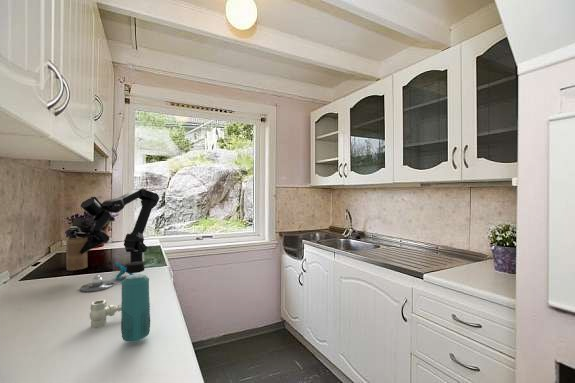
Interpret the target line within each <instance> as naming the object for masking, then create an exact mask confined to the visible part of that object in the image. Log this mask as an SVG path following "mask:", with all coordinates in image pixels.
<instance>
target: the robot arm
mask: <svg viewBox="0 0 575 383" xmlns="http://www.w3.org/2000/svg"><path fill="white" fill-rule="evenodd" d="M137 199H140V204H141V209H140V211H139V214H138V217H137V219H136V222H135V224H134V227H133V230H132V231H131V232H130V233H126V235H125V238H124V240H123V246H124V248H125V252H126V253H129V255H130V257H129V262H127V264H128V263H131V262H144V264H146V261H144V260H143V259H144V258H143V255H144V254H143V253H146V252H147V250H148V247H147V245H146V244H145V243H144V241H145V238H144V233H145V230H146V226H147V224H148V220H149V218H150V215H151V212H152V210H153V209H154V208H155V207H156V206H157V205H158V202H159V201H160V196H159V194H158V193H156V192H152V191H150V190H148V189H145V188H143V187H139V188H138V187H137V188H135V189H133V190H131V191H129V192H127V193H125V194H123V195H121V196H119V197H117V198H112V199H107V200H104V201H103V202H100V200H99V199H98V198H97V196H91V197H90V198H87V199H85V200H84V201H82V202H81V204H80V207H81V209H83V210H84V211H85V212H86V213H87V214H88V216H90V217H86V218H78V217H77V218H76V217H74V220H73V222H72V224H71V227H79V228H80V229H79V231H78V230H77V229H69V228H68V229H67V230H66V231H65V232H64V234H65V235H67V236H68V238H69V237H70V239H71V238H87V242H86V243H85V245H84V246H83V248H82V249H81V251H80V253H81V254H83V253H85V252H86V251H87V252H89V251H90V250H92V249H94V248H95V247H98V246H99V245H102V244H108V242H109V241H110V235H108V233H106V232H105V231H106V227H105V226H106V225H107V223H109V222H115V215H113V213H114V214H118V213H119V212H121V211H122V210H123V209H124V208H125V207H126V206H127V205H128V204H130V203H132V202H134V201H135V200H137ZM92 217H93V218H92Z"/></svg>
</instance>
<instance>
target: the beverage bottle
mask: <svg viewBox="0 0 575 383" xmlns="http://www.w3.org/2000/svg"><path fill="white" fill-rule="evenodd" d="M144 262H145V261H144ZM144 262H131V263H128V262H127V264H126V266H125V268H126V272H125V274H128V273H133V275H130V274H128V275H127V276H126V277H125V278H124V279H123V280H122V281H121V284H120V285H121V304H122V308H121V309H122V311H121V314H120V315H121V316H120V317H121V321H120V322H121V324H120V334H121V338H122V340H123V341H124V342H137V341H140V340H143V339H145V338H146V337H147V336H149V335H150V331H151V330H150V329H151V311H150V310H151V309H150V308H151V303H150V299H151V298H150V277H148V276H147V275H146V274H145V273H142V272H144V271H145V263H144Z"/></svg>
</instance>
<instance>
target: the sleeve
mask: <svg viewBox="0 0 575 383" xmlns="http://www.w3.org/2000/svg"><path fill="white" fill-rule="evenodd" d="M87 241H88V238H71V239H68V238H67V239H66V240H65V242H66V243H65V244H66V248H65V249H66V250H65V252H67V264H66V270H67V271H77V270H79V271H80V270H84V269H86V268H88V251H86V252H85V253H83V254H81V253H80V251H81V249H82V248H83V246H84V245H85V243H86V242H87Z"/></svg>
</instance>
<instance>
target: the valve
mask: <svg viewBox="0 0 575 383" xmlns="http://www.w3.org/2000/svg"><path fill="white" fill-rule="evenodd" d="M121 308H122V303H120V304H118V305H117V306H116V305H114V304H110V305H108V306H107V300H105V299H99V300H95V301H92V302H91V303H90V311H89V319H90V328H91V329H98V328H102V327H105V325H106V324H107V322H108V321H107V317H108V316H109V317H112V316H115V313H117V311H118V313H119V312H122V309H121Z"/></svg>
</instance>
